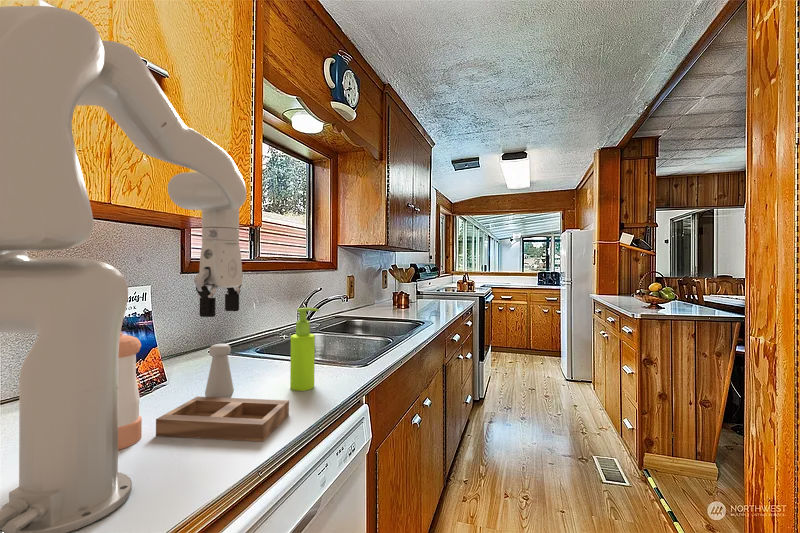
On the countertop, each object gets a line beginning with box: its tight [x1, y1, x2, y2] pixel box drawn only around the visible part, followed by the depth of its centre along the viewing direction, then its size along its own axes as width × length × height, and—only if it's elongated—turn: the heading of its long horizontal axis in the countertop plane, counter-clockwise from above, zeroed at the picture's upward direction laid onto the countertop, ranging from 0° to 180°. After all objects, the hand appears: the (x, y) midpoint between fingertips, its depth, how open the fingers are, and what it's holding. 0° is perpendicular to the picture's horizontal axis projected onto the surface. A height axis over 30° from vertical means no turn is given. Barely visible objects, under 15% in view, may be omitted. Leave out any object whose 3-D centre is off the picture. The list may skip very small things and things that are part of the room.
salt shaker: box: [204, 343, 235, 398], centre depth 86 cm, size 6×6×13 cm
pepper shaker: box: [118, 331, 143, 451], centre depth 67 cm, size 7×7×19 cm
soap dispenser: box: [289, 307, 320, 392], centre depth 98 cm, size 6×7×20 cm
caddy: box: [155, 396, 290, 443], centre depth 74 cm, size 12×20×3 cm, turn 85°
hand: (220, 313), depth 86 cm, fingers open, 9 cm apart
